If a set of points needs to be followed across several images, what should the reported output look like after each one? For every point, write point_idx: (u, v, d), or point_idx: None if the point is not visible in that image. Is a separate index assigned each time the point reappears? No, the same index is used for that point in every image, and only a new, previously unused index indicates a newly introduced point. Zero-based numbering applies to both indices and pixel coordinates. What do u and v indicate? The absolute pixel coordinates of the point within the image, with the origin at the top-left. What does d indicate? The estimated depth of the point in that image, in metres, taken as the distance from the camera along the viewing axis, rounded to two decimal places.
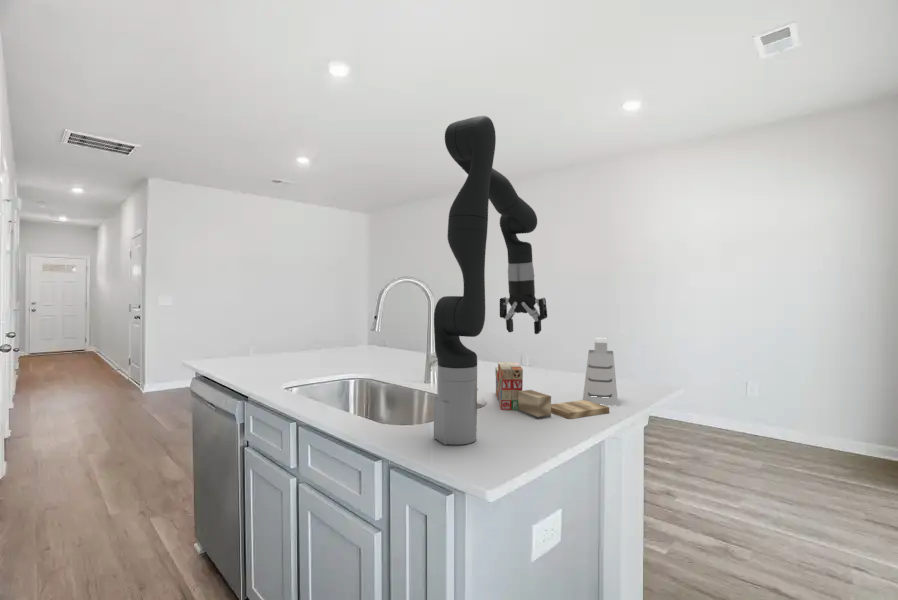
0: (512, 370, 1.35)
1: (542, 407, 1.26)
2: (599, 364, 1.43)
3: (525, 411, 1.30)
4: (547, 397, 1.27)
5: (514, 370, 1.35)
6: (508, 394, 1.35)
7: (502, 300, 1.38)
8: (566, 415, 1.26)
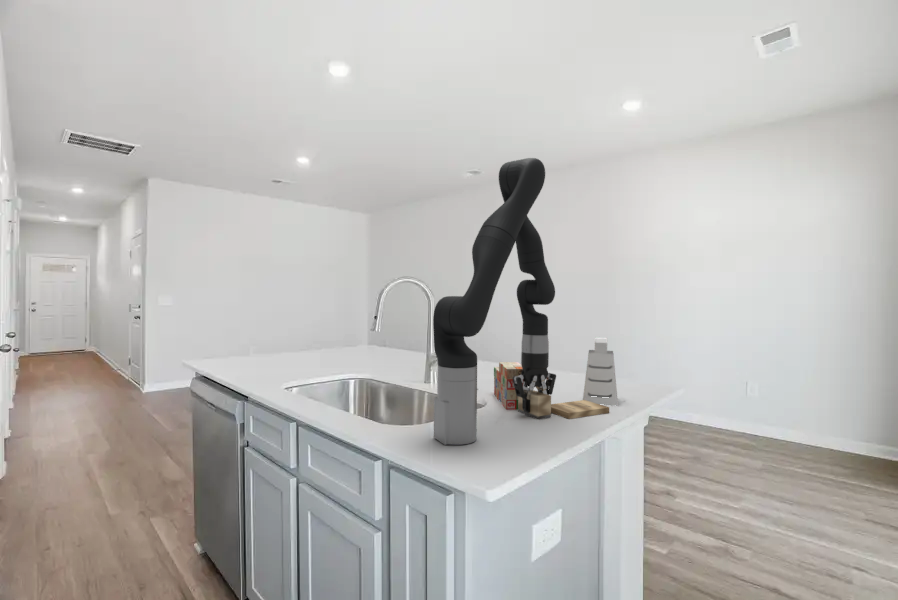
0: (517, 370, 1.35)
1: (542, 407, 1.26)
2: (599, 364, 1.43)
3: None
4: (547, 397, 1.27)
5: (519, 370, 1.35)
6: (513, 394, 1.35)
7: (520, 379, 1.26)
8: (566, 415, 1.26)
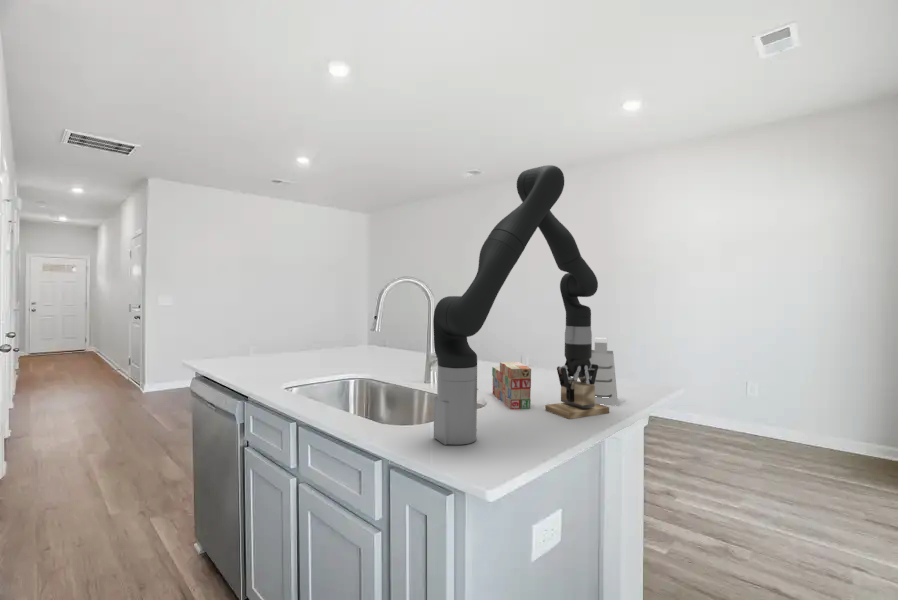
0: (521, 369, 1.36)
1: (586, 396, 1.29)
2: (599, 364, 1.43)
3: None
4: (591, 386, 1.30)
5: (523, 369, 1.36)
6: (518, 393, 1.36)
7: (565, 369, 1.30)
8: (566, 415, 1.26)
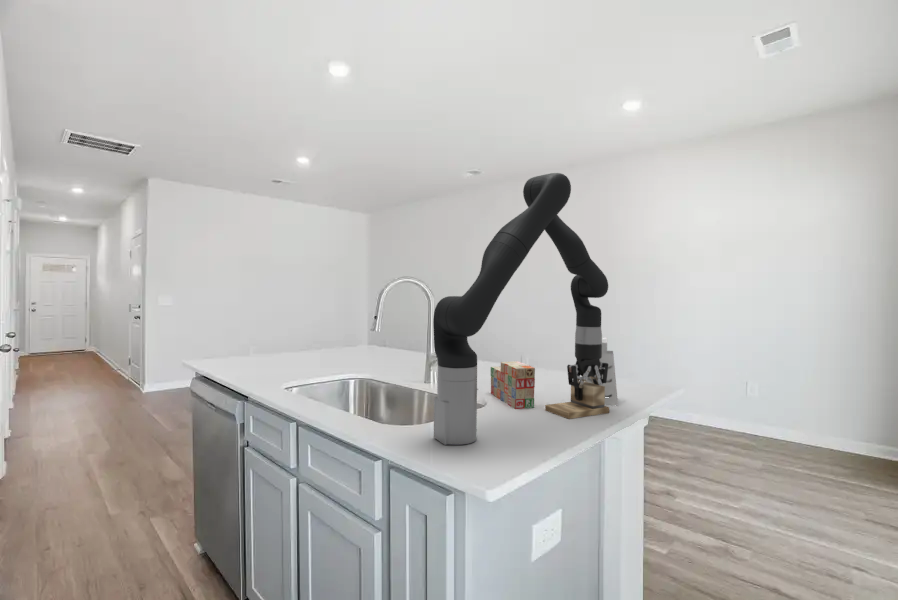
0: (525, 369, 1.37)
1: (596, 397, 1.31)
2: None
3: (578, 401, 1.35)
4: (601, 387, 1.32)
5: (527, 369, 1.37)
6: (522, 393, 1.37)
7: (575, 367, 1.31)
8: (566, 415, 1.26)
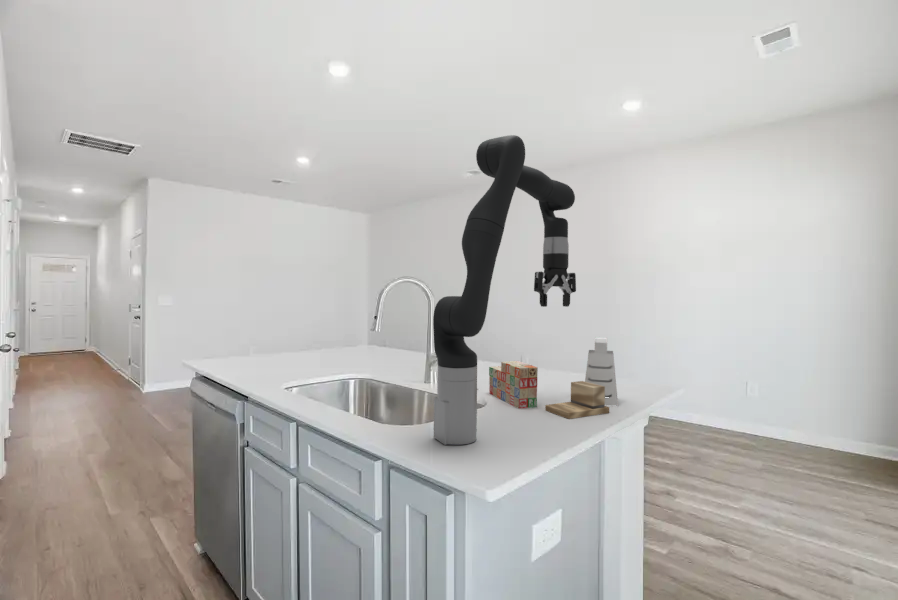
0: (528, 369, 1.37)
1: (596, 397, 1.31)
2: (599, 364, 1.43)
3: (578, 401, 1.35)
4: (601, 387, 1.32)
5: (530, 368, 1.38)
6: (525, 392, 1.37)
7: (542, 273, 1.37)
8: (566, 415, 1.26)
